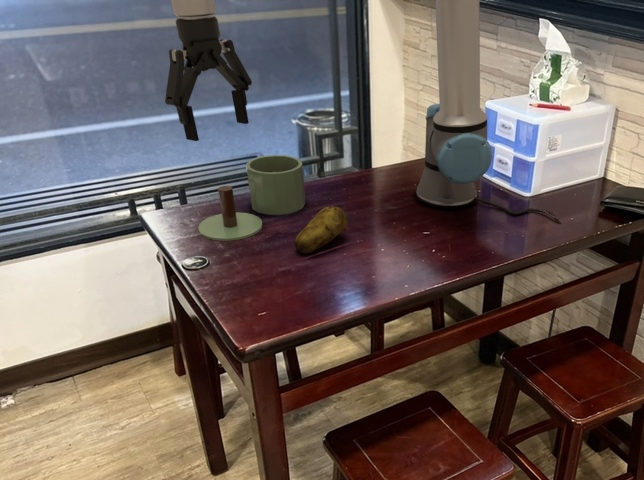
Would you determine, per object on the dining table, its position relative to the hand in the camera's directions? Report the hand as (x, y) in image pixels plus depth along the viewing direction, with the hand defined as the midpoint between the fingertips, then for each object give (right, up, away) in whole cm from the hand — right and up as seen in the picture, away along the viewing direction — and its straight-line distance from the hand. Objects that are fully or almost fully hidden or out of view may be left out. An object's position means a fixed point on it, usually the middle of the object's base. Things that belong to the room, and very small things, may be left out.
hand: (218, 131), depth 126 cm
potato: (+20, -23, +5) cm, 31 cm away
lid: (-1, -18, +10) cm, 21 cm away
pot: (+7, -11, +22) cm, 26 cm away
